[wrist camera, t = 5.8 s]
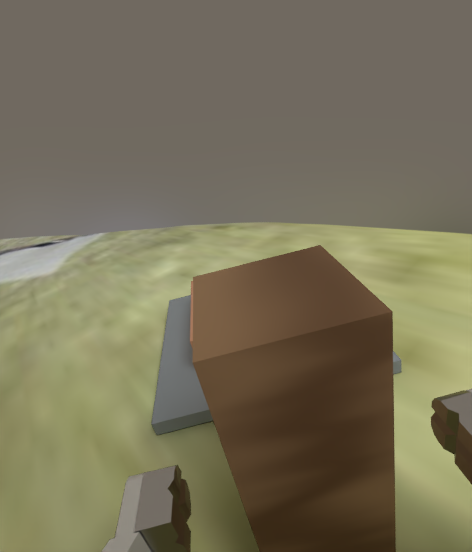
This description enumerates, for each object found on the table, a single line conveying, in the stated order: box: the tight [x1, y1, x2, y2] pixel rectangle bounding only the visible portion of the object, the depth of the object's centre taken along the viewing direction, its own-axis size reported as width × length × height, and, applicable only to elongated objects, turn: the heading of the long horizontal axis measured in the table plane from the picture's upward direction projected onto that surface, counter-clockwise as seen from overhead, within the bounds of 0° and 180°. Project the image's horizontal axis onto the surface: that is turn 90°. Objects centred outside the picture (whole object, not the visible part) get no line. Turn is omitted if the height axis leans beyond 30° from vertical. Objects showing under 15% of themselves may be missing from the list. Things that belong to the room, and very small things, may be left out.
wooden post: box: [193, 245, 396, 552], centre depth 12 cm, size 4×4×12 cm
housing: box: [152, 281, 401, 435], centre depth 27 cm, size 16×16×4 cm
